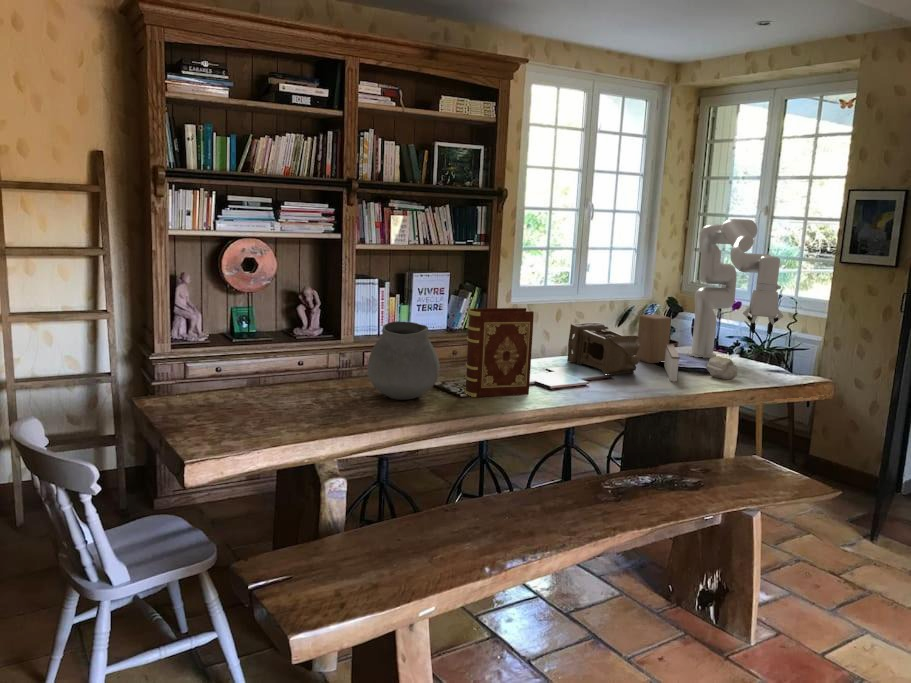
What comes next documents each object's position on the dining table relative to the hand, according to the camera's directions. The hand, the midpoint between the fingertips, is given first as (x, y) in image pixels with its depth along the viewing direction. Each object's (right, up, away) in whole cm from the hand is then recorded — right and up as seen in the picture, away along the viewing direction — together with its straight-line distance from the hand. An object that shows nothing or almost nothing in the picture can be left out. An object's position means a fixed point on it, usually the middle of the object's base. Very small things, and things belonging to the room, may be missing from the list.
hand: (760, 332), depth 293 cm
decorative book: (-107, -22, -31) cm, 114 cm away
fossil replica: (-14, -18, +6) cm, 24 cm away
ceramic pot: (-139, -23, -41) cm, 147 cm away
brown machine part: (-58, -16, +11) cm, 62 cm away
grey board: (-33, -17, +10) cm, 38 cm away
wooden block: (-35, -12, +32) cm, 49 cm away
